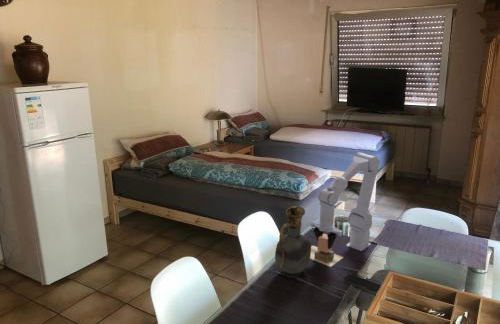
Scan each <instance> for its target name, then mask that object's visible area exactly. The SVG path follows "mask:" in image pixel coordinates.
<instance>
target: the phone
mask: <svg viewBox="0 0 500 324" xmlns="http://www.w3.org/2000/svg"><path fill="white" fill-rule="evenodd" d="M365 278H366V279H364V277H363V276H362V275H359V274H356V273H353V272H349V273H348V274H347V275H346V276H345V277H344V279H343V280H342V281H343V282H344V283H346V284H348V285H352V286H353V287H354V288H357V289H358V290H362V291H364V292H367V293H371V294H373V295H376V293H377V291H378V290H379V288H380V286H381V284H382V283H383V282H380V281H377V280H374V279H372V278H371V279H370V278H368V277H365Z"/></svg>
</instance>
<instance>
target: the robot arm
mask: <svg viewBox="0 0 500 324" xmlns="http://www.w3.org/2000/svg"><path fill="white" fill-rule="evenodd" d="M351 159H352V160H351V164H350V165H349V166H348V167H347V168H346V170H345V171H344V173H343V174H342V175H341V176H337V177H336V178H334V179H333V181H332V182H331V183H330V184H329V185H328V186H327V187H326V188H323V189H321V190H320V191H319V193H318V195H317V198H318V200H319V205H320V208H319V209H320V212H319V221H315V220H312V221H311V222H310V227H311V228H312V227H314V229H313V233H314V235H315V237H316V241H317V243H318V237H319V236H321V235H322V234H324V232H327V237H328V249H330V248H332V249H333V246H334V242H335V240H336V238H337V237H342V235H343V230H341V229H339V228H337V227H336V226H334V219H335V217H334V216H335V205H336V204H337V203H338V201H339V198H340V196H341V194H342V193H343V191H344V190H346V188H347V187H348V182H349V181H350V180H351V179H353V178H354V176H356V175H357V174H358V173H359V172H362V173H363V177H362V181H361V184H360V185H361V186H360V189H359V194H358V199H357V204H356V207H354V208H352V209H351V210H350V213H349V215H348V216H347V222H348V225H349V227H350V235H349V237H350V238H349V242H348V243H347V244H346V246H347V247H350V248H352V249H355V250H357V251H360V252H361V251H364V250H366V249H367V248H368V247H370V246H371V242H370V235H371V231H370V230H371V228H372V225H373V220H372V219H373V214H372V213H371V212H370V210H369V209H370V208H369V207H370V204H371V199H372V195H373V191H374V187H375V183H376V177H377V175H378V173H379V168H380V165H381V160H380V159H379V158H378V156H376V155H370V154H367V153H364V152H361V151H358V152H357V153H356V154H355V155H354V156H353V157H352V158H351Z"/></svg>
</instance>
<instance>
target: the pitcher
mask: <svg viewBox="0 0 500 324" xmlns="http://www.w3.org/2000/svg"><path fill="white" fill-rule="evenodd" d="M285 214H286V216H287V222H286V223H284V224H283V226H282V227H281V229H280V232H279V236H278V238H279V240H278V242H277V244H276V247H275V251H274V252H275V255H274V259H275V260H274V261H275V263H276V266H277V267H278V268H280V269H279V270H280V271H281V270H282V271H283V275H284V276H285V277H286V278H291V279H296V278H298V277H299V276H301V274H302V273H303V271H304V270H305V269H306V268H307V266H308V264H309V263H310V260H311V259H310V255H311V246H312V244H311V241H310V240H309V239H308V237H306V236H305V235H304V234H301V228H302V219H303V216H305V214H306V210H305V208H304V207H303V206H302V207H301V206H299V205H298V206H297V205H295V206H293V205H292V206H290V207H289V208H287V209H286V211H285ZM286 229H287V233H285V231H286ZM284 233H285V234H284Z"/></svg>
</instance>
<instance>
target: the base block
mask: <svg viewBox="0 0 500 324" xmlns="http://www.w3.org/2000/svg"><path fill="white" fill-rule="evenodd" d="M334 254H335V251H333V250H330V251H329V252H327V253H325V252H323V251H320V250H317V251H316V252H315V257H314V258H315V259H318V260H320V261H323V262H325V263H327V262H329V261H330V260H331V259H333V258H334Z"/></svg>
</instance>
